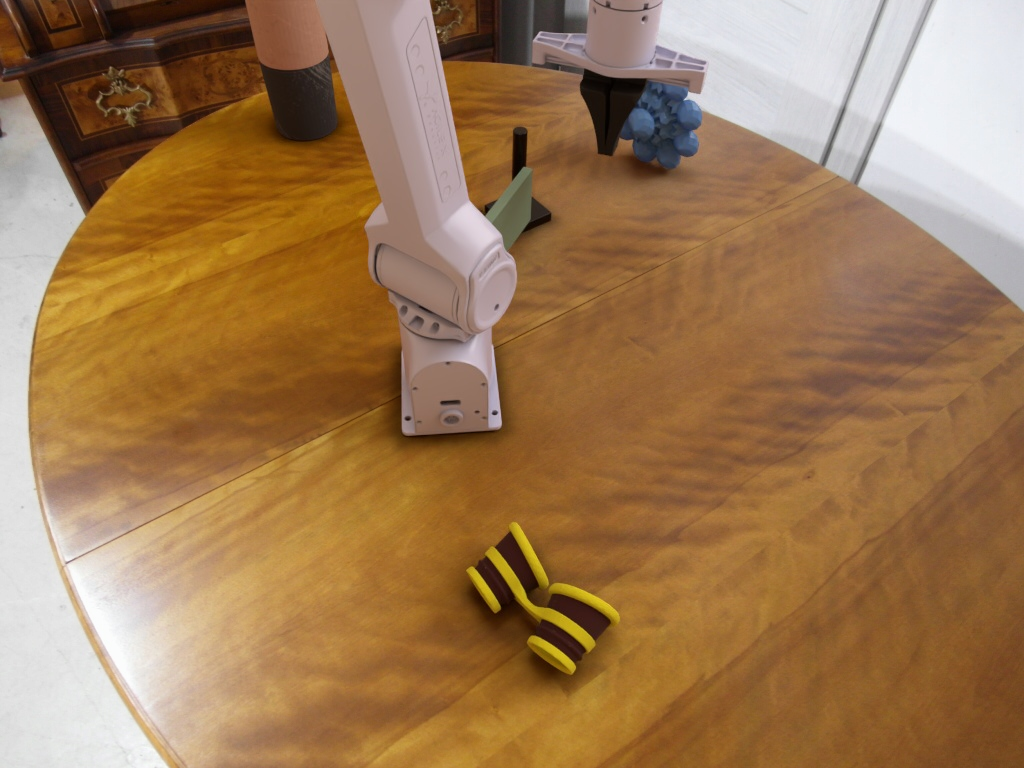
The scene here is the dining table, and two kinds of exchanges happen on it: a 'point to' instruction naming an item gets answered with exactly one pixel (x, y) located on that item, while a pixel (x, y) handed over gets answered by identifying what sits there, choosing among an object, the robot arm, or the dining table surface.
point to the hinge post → (518, 162)
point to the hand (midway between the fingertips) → (607, 149)
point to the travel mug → (295, 66)
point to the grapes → (663, 125)
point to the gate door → (513, 208)
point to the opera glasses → (562, 622)
